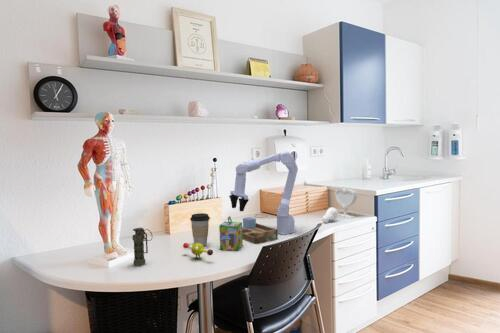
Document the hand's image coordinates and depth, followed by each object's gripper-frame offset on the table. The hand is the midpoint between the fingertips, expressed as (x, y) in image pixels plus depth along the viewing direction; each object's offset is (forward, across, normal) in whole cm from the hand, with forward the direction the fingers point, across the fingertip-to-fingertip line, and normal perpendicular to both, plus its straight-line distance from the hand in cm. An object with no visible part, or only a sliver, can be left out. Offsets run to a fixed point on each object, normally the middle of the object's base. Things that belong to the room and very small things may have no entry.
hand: (237, 209), depth 190 cm
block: (+8, +7, +4) cm, 12 cm away
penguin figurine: (+6, +18, +57) cm, 60 cm away
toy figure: (+14, +27, -38) cm, 49 cm away
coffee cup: (+14, +11, -28) cm, 33 cm away
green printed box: (+12, +23, -18) cm, 32 cm away
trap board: (+11, +16, +1) cm, 19 cm away
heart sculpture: (+5, +13, +79) cm, 80 cm away
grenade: (+16, +19, -59) cm, 64 cm away
